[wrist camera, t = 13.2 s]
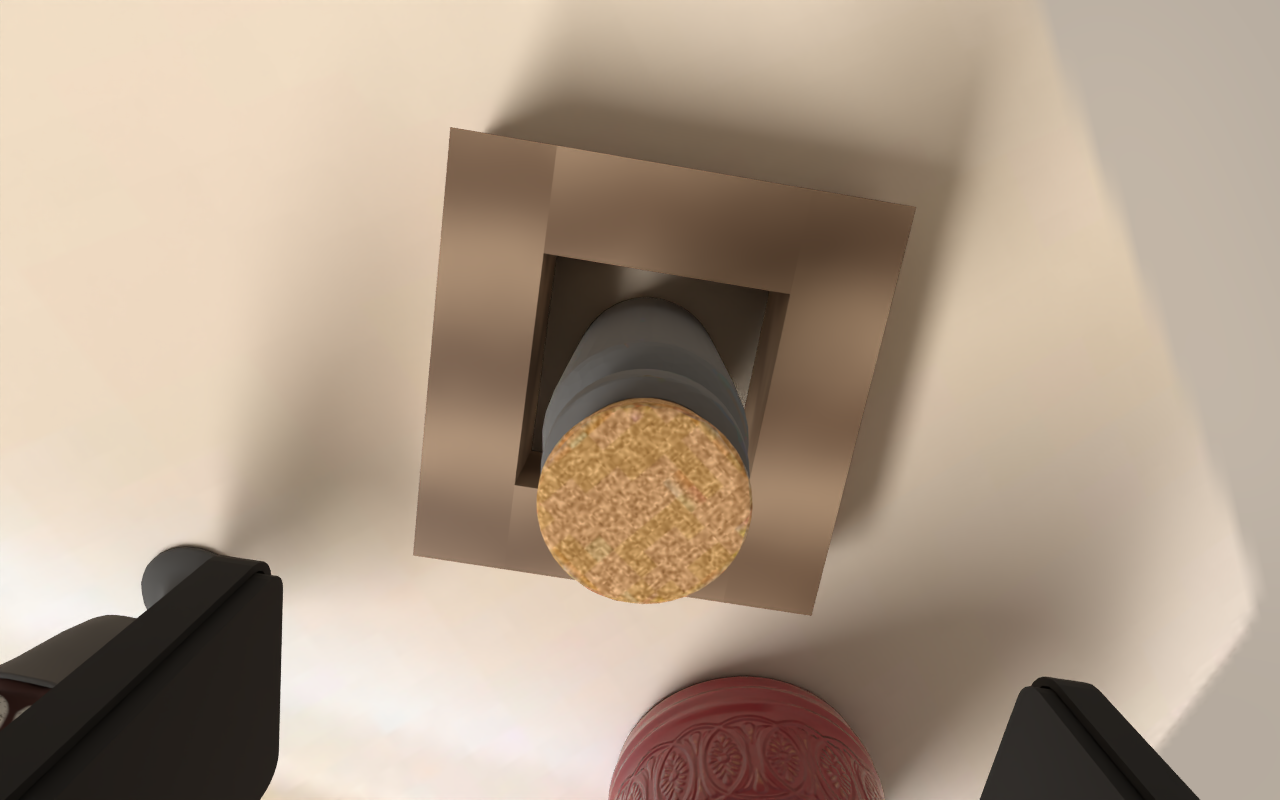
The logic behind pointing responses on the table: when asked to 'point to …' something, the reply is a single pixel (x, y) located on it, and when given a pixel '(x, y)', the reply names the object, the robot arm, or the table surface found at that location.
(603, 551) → the bottle
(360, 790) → the table surface
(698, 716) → the canister
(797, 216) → the collar block
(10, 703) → the sundae
